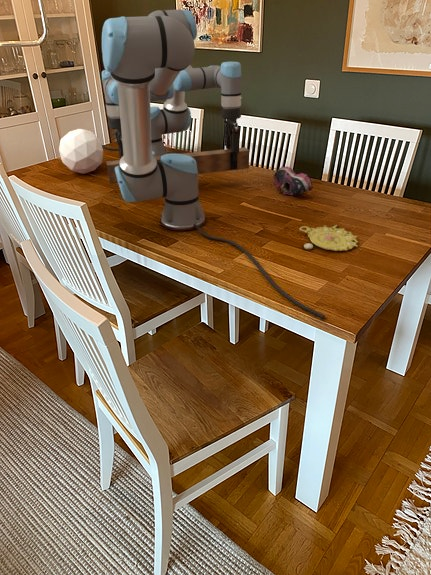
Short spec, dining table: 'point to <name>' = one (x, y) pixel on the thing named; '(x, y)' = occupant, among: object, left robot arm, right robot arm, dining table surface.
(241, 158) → the bar
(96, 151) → the sphere
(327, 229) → the decorative object
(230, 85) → the left robot arm
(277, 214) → the dining table surface
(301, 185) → the athletic shoe
